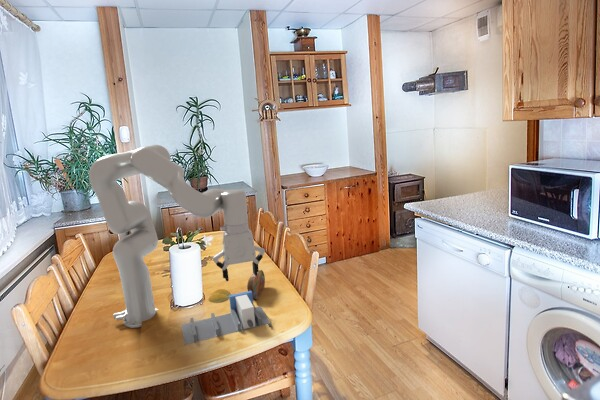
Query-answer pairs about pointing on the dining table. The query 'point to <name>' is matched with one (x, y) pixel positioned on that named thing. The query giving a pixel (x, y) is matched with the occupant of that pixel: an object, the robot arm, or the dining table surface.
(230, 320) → the board
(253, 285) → the brown flat oval slab
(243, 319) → the cable plug
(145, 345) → the dining table surface
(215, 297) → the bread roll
